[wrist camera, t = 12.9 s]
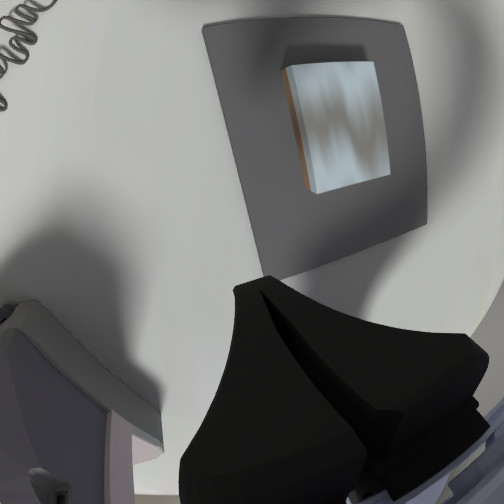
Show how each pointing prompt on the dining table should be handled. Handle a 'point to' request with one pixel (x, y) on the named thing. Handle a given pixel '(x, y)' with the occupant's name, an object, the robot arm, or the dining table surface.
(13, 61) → the headphones
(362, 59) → the mat
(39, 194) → the dining table surface
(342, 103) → the tile
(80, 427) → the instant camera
